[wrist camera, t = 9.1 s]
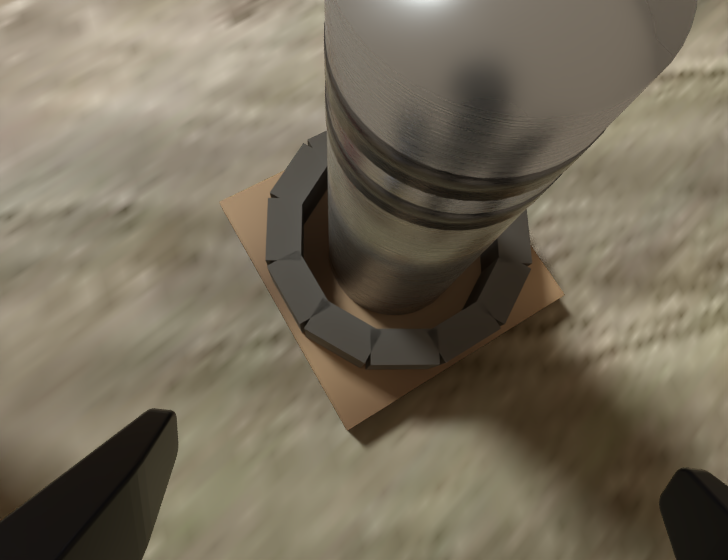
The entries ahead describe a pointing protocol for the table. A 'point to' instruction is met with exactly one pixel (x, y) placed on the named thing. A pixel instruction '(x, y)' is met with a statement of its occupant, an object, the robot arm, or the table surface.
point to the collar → (359, 325)
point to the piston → (467, 123)
